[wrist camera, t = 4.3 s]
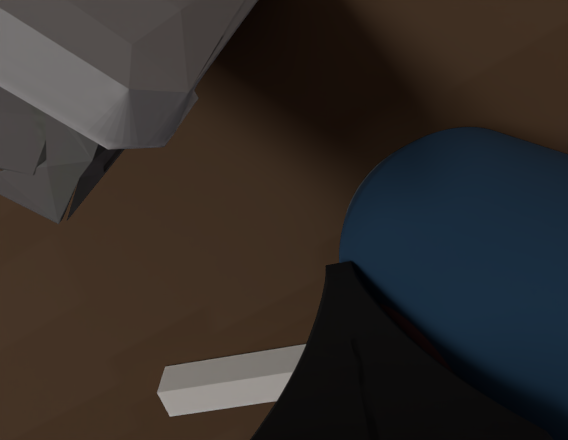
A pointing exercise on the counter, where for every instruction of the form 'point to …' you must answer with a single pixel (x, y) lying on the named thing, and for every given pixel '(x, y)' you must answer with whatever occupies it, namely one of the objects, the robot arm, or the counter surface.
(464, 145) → the soda can
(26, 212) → the counter surface
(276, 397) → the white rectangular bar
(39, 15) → the electrical switch
